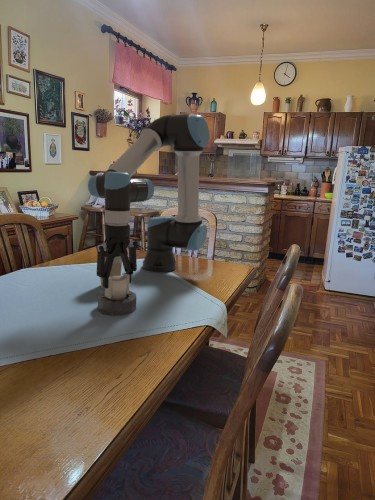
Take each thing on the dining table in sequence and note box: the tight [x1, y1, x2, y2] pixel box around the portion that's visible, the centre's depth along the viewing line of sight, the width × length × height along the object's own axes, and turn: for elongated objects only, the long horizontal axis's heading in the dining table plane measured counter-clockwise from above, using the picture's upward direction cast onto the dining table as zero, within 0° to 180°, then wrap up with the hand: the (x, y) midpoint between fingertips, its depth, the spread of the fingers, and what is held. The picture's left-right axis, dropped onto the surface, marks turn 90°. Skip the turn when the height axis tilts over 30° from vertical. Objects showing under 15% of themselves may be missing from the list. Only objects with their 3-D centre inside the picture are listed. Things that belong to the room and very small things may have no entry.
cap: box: [110, 275, 127, 300], centre depth 113 cm, size 6×6×6 cm
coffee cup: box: [99, 248, 123, 289], centre depth 133 cm, size 9×9×15 cm
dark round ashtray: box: [97, 290, 137, 316], centre depth 114 cm, size 12×12×4 cm
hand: (117, 294), depth 114 cm, fingers closed on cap, 6 cm apart
